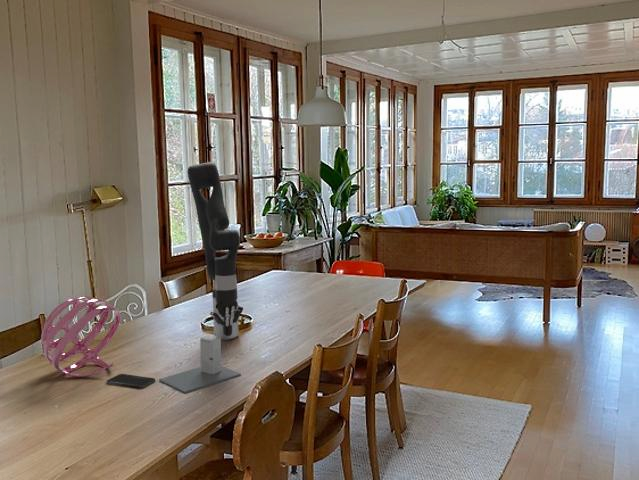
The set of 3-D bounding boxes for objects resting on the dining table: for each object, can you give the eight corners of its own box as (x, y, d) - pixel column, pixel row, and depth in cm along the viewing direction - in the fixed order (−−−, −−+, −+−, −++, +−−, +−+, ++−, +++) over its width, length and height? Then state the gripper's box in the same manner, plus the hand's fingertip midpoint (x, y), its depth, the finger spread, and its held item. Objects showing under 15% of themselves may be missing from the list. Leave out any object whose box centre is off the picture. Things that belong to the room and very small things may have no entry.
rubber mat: (213, 364, 219) (213, 362, 219) (240, 375, 208) (240, 373, 208) (159, 380, 204) (159, 379, 204) (185, 393, 193) (184, 391, 193)
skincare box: (200, 371, 210) (198, 337, 209) (209, 368, 214) (207, 334, 212) (213, 375, 207) (212, 340, 205) (222, 371, 211) (221, 337, 209)
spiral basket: (150, 315, 213) (96, 269, 219) (87, 356, 191) (28, 303, 197) (134, 364, 229) (83, 320, 235) (74, 407, 207) (19, 357, 213)
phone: (141, 387, 197) (104, 381, 203) (141, 390, 197) (105, 384, 203) (156, 378, 204) (120, 373, 210) (157, 381, 204) (121, 376, 210)
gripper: (235, 282, 219) (236, 329, 221) (203, 288, 210) (205, 337, 212) (247, 285, 214) (249, 333, 216) (216, 291, 204) (218, 341, 207)
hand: (227, 335), depth 214 cm, fingers closed
